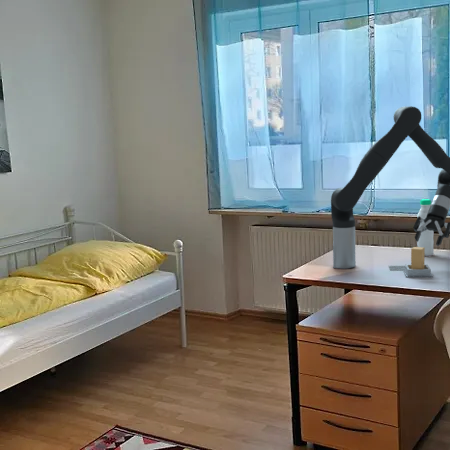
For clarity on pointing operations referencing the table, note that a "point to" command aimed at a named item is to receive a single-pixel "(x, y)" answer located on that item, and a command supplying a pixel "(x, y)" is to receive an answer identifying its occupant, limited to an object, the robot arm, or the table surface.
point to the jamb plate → (397, 268)
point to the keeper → (417, 272)
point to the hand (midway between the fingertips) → (426, 242)
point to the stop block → (417, 257)
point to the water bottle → (427, 235)
